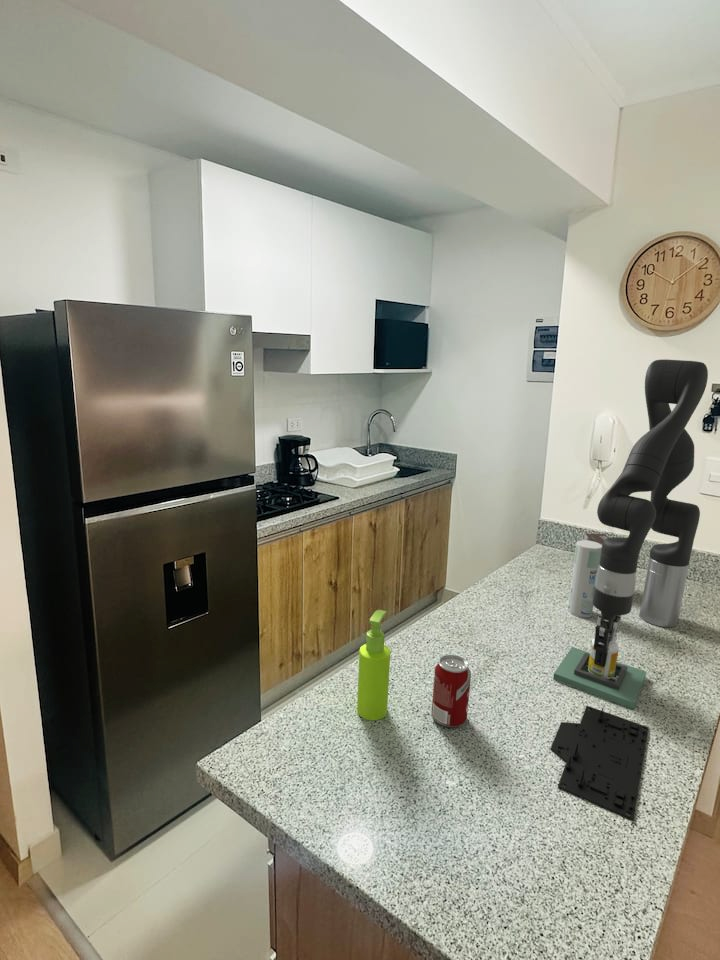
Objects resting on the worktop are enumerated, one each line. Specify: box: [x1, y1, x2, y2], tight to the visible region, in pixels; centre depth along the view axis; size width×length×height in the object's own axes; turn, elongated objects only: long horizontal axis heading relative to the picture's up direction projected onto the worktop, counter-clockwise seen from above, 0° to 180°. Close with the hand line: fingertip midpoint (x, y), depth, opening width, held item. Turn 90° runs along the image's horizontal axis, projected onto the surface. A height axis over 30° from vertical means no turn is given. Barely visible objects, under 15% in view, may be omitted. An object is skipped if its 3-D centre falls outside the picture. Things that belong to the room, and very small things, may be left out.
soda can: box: [431, 654, 472, 728], centre depth 102 cm, size 7×7×12 cm
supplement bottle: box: [587, 633, 620, 680], centre depth 116 cm, size 5×5×10 cm
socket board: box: [552, 646, 647, 710], centre depth 117 cm, size 14×16×2 cm
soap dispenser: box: [356, 609, 391, 721], centre depth 103 cm, size 6×7×20 cm
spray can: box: [567, 539, 602, 619], centre depth 146 cm, size 6×6×20 cm
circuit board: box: [550, 705, 650, 822], centre depth 95 cm, size 25×14×3 cm, turn 148°
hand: (603, 658), depth 117 cm, fingers closed on supplement bottle, 5 cm apart
